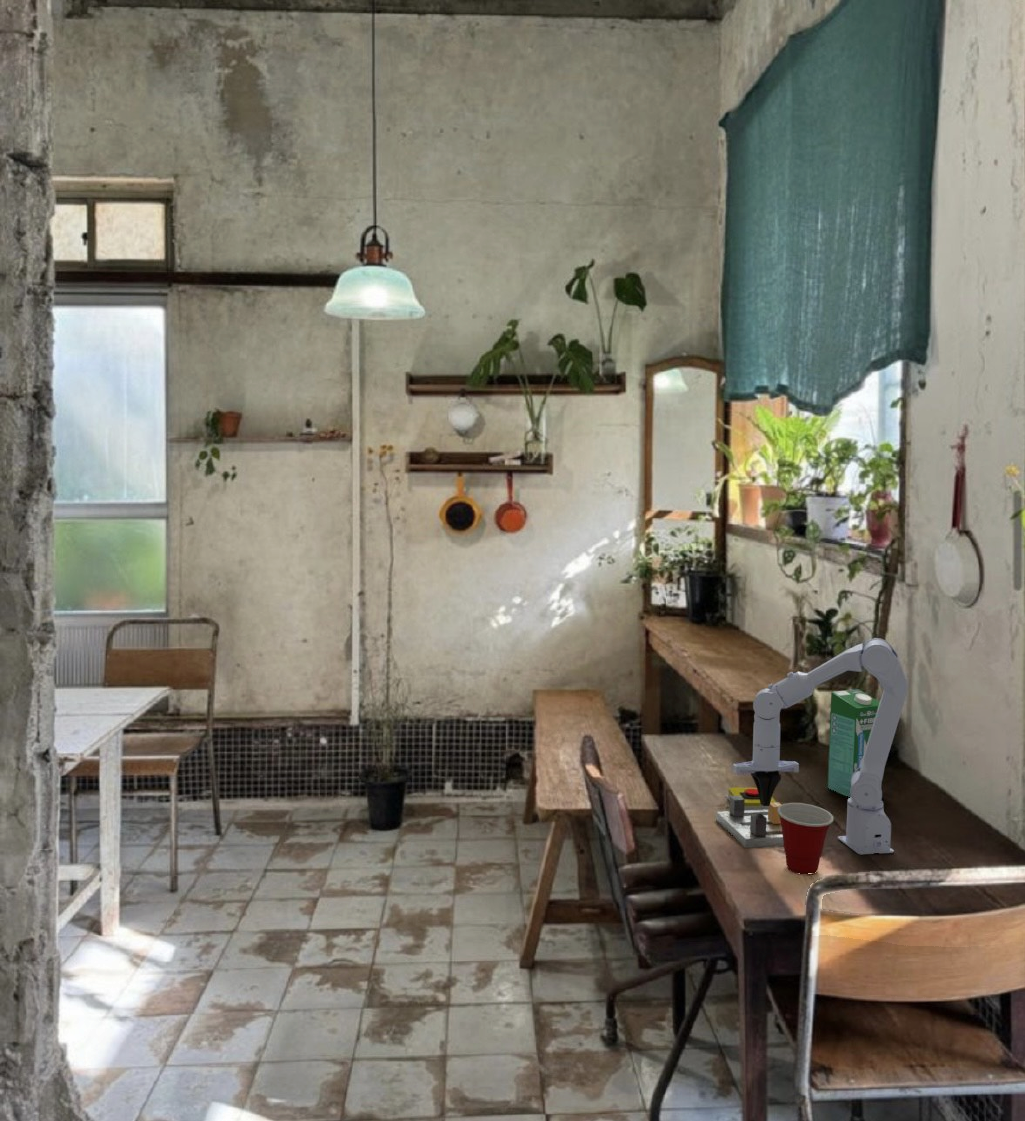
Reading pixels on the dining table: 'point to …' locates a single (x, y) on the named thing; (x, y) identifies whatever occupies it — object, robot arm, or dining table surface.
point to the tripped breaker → (774, 813)
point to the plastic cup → (803, 835)
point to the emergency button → (749, 798)
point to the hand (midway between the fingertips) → (764, 804)
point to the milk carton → (848, 735)
